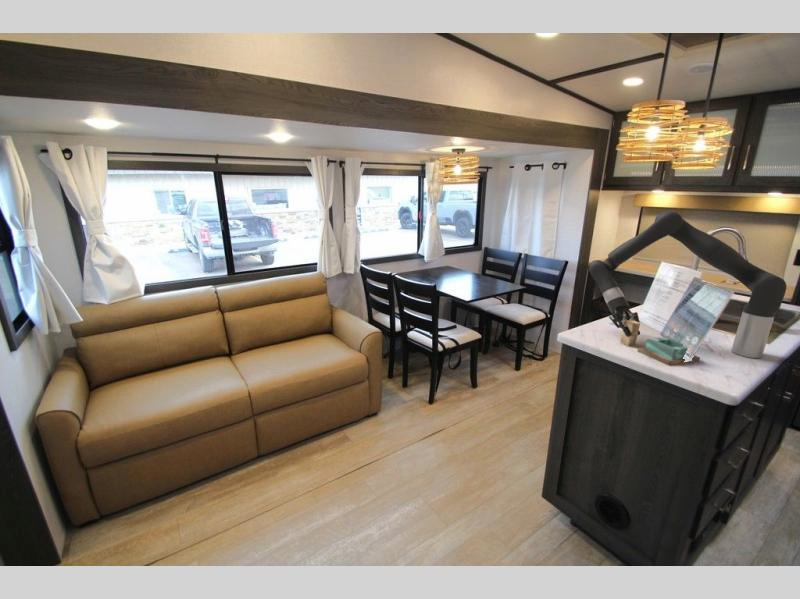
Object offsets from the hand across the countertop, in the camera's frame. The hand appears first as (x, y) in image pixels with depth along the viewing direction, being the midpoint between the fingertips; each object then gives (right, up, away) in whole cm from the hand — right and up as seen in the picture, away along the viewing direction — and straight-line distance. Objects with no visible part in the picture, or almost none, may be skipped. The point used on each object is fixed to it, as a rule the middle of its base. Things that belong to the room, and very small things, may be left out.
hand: (633, 335), depth 154 cm
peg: (-1, -4, +3) cm, 5 cm away
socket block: (+8, -7, -8) cm, 14 cm away
